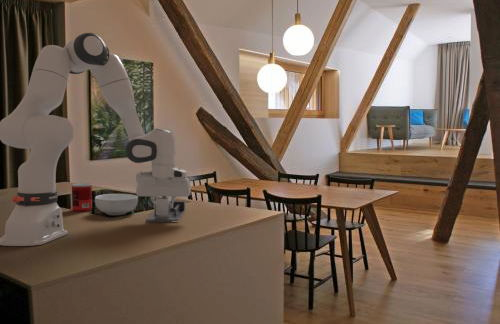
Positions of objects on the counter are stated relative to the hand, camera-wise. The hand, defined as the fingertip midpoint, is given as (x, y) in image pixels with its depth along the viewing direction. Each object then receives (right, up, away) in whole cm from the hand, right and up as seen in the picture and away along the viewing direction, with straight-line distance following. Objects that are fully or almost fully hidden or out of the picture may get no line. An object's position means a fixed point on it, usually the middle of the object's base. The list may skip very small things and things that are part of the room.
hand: (163, 208), depth 177 cm
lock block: (0, -2, 0) cm, 2 cm away
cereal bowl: (-21, -4, +12) cm, 25 cm away
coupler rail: (0, -4, +7) cm, 8 cm away
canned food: (-37, -3, +18) cm, 41 cm away
